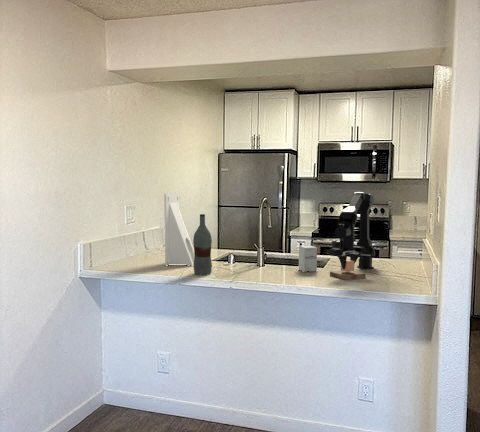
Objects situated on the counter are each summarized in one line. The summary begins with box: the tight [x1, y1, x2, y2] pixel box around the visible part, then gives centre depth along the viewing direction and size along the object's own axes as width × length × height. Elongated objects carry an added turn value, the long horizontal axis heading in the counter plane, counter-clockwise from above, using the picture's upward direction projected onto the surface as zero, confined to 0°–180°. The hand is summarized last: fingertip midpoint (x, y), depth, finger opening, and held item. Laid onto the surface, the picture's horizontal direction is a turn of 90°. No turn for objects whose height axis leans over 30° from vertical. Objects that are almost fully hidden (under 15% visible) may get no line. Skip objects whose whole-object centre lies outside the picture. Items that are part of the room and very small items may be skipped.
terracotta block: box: [340, 258, 355, 272], centre depth 226 cm, size 4×4×5 cm
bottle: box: [192, 213, 213, 276], centre depth 233 cm, size 9×9×30 cm
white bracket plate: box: [163, 192, 195, 265], centre depth 259 cm, size 20×14×40 cm
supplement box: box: [298, 245, 318, 273], centre depth 242 cm, size 7×7×13 cm
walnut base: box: [329, 269, 366, 281], centre depth 226 cm, size 12×12×2 cm
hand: (347, 268), depth 226 cm, fingers closed on terracotta block, 4 cm apart
